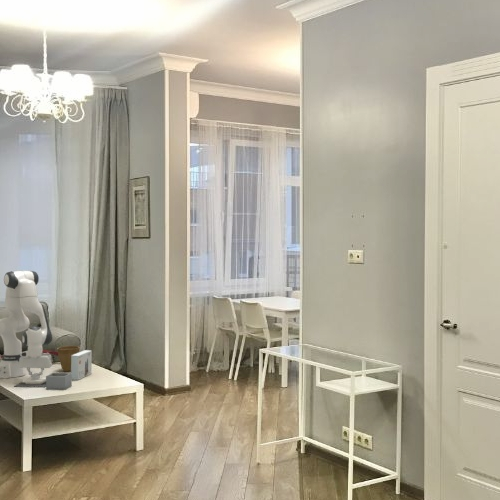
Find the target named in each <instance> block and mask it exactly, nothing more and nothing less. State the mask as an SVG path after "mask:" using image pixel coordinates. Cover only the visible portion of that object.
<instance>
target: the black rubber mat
mask: <svg viewBox="0 0 500 500" xmlns="http://www.w3.org/2000/svg"><path fill="white" fill-rule="evenodd" d="M13 387H14V388H46V382H44V383H43V384H41V385H37V384H26V383H23V382H22V381H20V383H17V384H15V385H13Z"/></svg>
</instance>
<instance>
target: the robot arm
mask: <svg viewBox="0 0 500 500" xmlns="http://www.w3.org/2000/svg"><path fill="white" fill-rule="evenodd" d="M39 280H40V278H39V274H38V272H36V271H34V270H16V271H15V270H14V271H8V272H6V273H5V274H4V277H3V283H4V285H5V286H6V289H5V299H4V307H5V309H6V310H7V311H8V313H9V316H7V317H2V318H0V337H1V340H2V342H3V351H4V352H3V355H1V356H0V359H1V360H0V379H11V378H18V377H22V376H25V375H26V373H25V371H24V369H25V368H26V371H27V372H28V376H31V375H32V374H33V371H31V369H40V371H39V372H38V373H39V375H40V376H43V374H44V373H43V372H44V371H45V369H50V368H51V367H52V366H53V364H52V354H49V353H43V350H44V349H43V346H48V345H50V343H52V341H53V334H52V331H51V327H50V324H49V320H48V316H47V312H46V309H45V307H44V305H43V304H42V303H41V302H40V301H39V298H38V290H37V285H38V283H39ZM24 311H27V312H30V313H32V314H35V315H37V316H38V318H39V321H40V325H41V327H40V326H36V325H35V326H34V325H33V326H30V325H31V323H30V322H31V321H30V319H29V318H28V316H26V314H25V312H24ZM21 332H23V333H22V334H21V340H20V339H19V338H18V337H17V333H21ZM23 345H24V346H26V347H27V349H26V350H25V351H23V349H22V348H23Z"/></svg>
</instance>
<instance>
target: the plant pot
mask: <svg viewBox="0 0 500 500" xmlns="http://www.w3.org/2000/svg"><path fill="white" fill-rule="evenodd" d="M80 349H81V347H80V346H77V345H65V346H59V347H57V349H56V350H57V352H58V356H59V357H58V356H57V357H58V360H59V364H60V366H61V369H62V371H63V373H71V355H74V354H76V353H79V352H80Z"/></svg>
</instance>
